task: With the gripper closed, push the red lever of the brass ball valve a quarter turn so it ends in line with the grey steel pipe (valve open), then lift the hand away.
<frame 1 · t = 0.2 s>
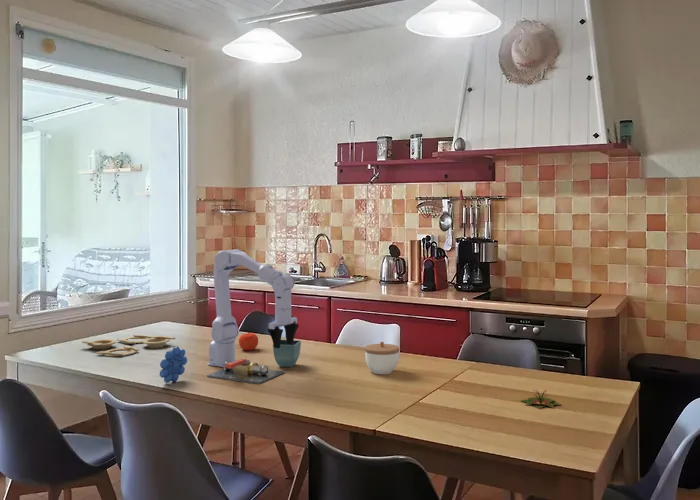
hand: (283, 345, 225), 10 cm above the table, tool pointing down, fingers open, 7 cm apart
grapes: (172, 381, 215), on the table
flower pot: (287, 366, 237), on the table
tableware set: (128, 348, 270), on the table
valve body: (245, 373, 225), on the table
apple: (248, 350, 264), on the table
lily flower: (540, 405, 190), on the table
lever: (238, 363, 221), point 5 cm above the table, hinge at 0.0°
lidded bowl: (381, 372, 227), on the table
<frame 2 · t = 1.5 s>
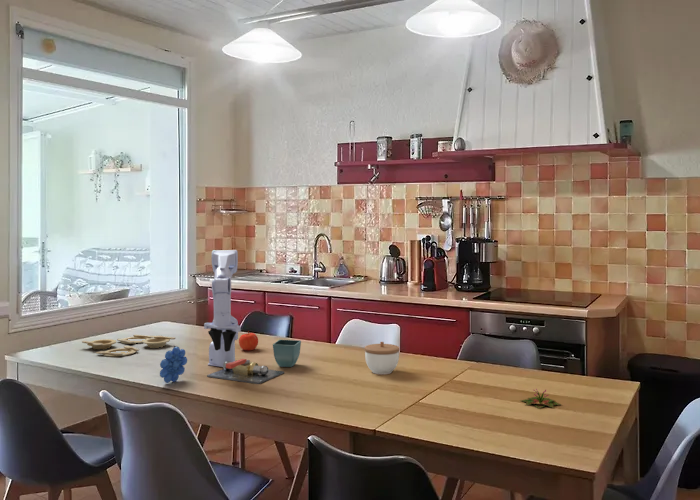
hand: (222, 350, 220), 9 cm above the table, tool pointing down, fingers open, 4 cm apart
nothing on the table moved.
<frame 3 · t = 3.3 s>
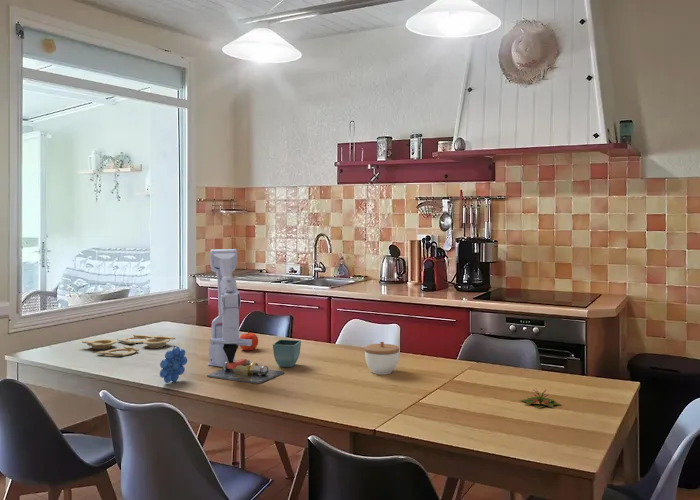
hand: (231, 365, 219), 4 cm above the table, tool pointing down, fingers closed, pressing on lever
lever: (239, 363, 220), point 5 cm above the table, hinge at 3.3°, touching gripper
everything else where it was.
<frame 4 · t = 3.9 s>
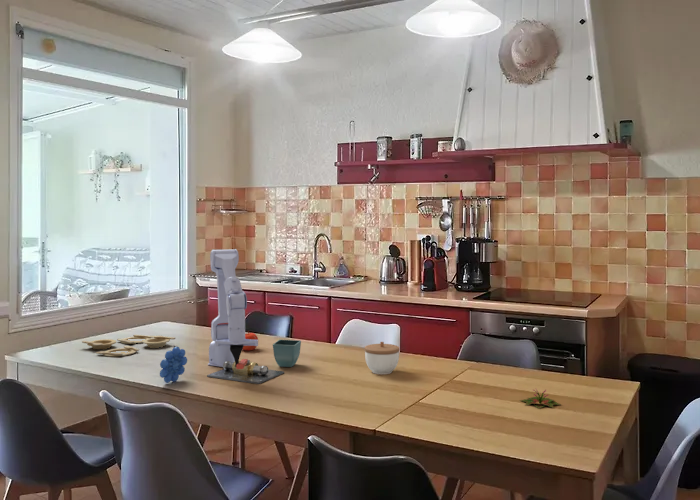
hand: (237, 366, 218), 4 cm above the table, tool pointing down, fingers closed, pressing on lever
lever: (243, 363, 220), point 5 cm above the table, hinge at 24.3°, touching gripper
everything else where it was.
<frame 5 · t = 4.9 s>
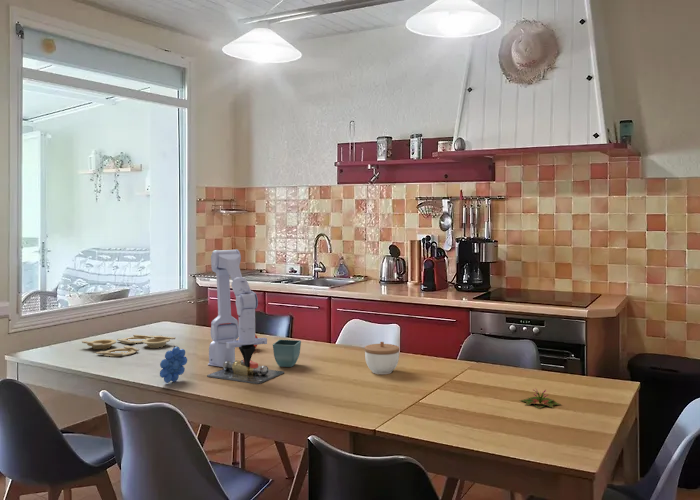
hand: (247, 366, 218), 4 cm above the table, tool pointing down, fingers closed, pressing on lever
lever: (249, 363, 221), point 5 cm above the table, hinge at 55.6°, touching gripper
everything else where it was.
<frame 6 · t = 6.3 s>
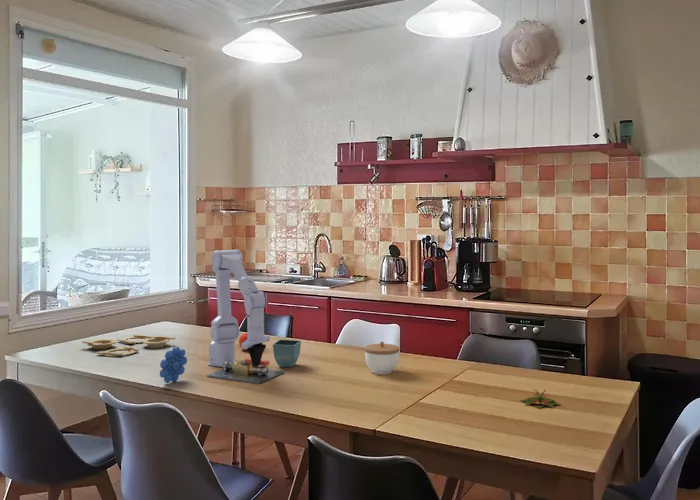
hand: (256, 365, 219), 4 cm above the table, tool pointing down, fingers closed
lever: (254, 362, 222), point 5 cm above the table, hinge at 87.3°
everything else where it was.
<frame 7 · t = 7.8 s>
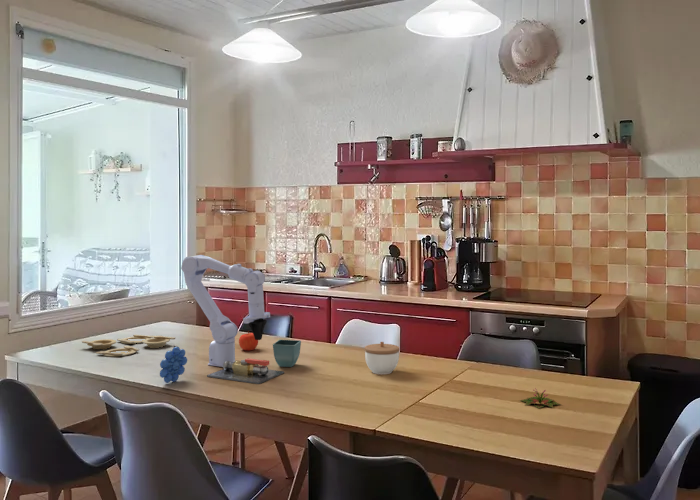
hand: (258, 339, 234), 10 cm above the table, tool pointing down, fingers closed
nothing on the table moved.
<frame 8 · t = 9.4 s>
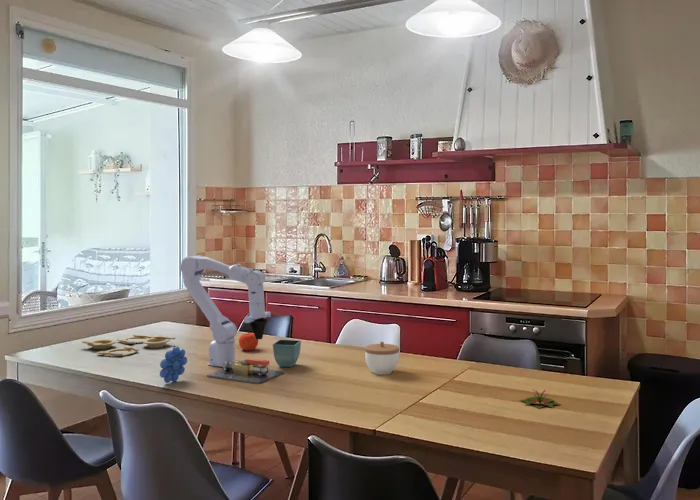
hand: (259, 339, 235), 10 cm above the table, tool pointing down, fingers closed
nothing on the table moved.
at the end: lever at +87° (first picture: +0°); lever touching nothing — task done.
